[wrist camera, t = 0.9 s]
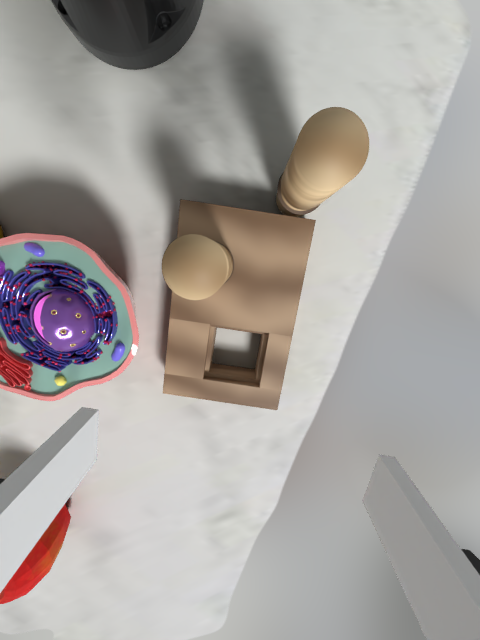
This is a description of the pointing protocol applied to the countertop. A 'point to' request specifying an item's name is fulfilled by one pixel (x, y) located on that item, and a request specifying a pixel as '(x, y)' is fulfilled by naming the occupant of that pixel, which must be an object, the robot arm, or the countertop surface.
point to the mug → (1, 232)
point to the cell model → (61, 317)
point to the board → (232, 299)
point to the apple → (38, 559)
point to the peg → (322, 160)
